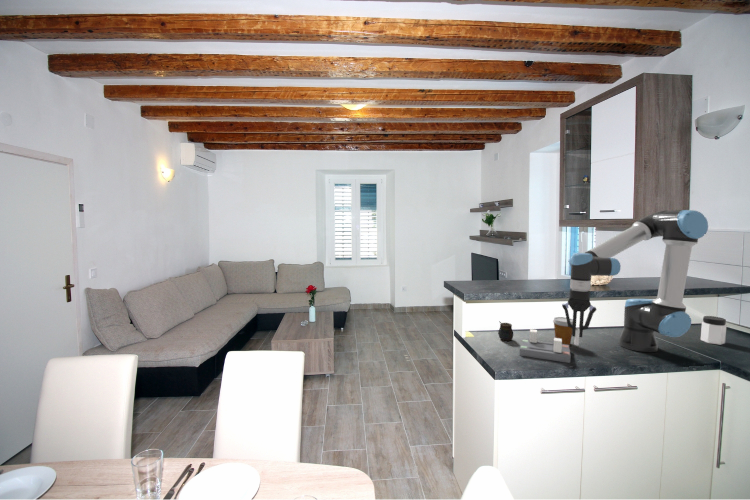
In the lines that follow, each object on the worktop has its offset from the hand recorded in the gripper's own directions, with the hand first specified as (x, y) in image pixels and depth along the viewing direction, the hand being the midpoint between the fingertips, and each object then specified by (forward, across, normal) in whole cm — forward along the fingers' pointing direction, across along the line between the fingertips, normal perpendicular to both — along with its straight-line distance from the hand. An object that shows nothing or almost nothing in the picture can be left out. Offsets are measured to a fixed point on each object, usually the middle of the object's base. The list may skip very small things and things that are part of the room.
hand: (576, 344), depth 155 cm
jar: (+7, +63, +57) cm, 85 cm away
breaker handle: (+4, -17, +9) cm, 20 cm away
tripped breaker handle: (+4, -7, 0) cm, 8 cm away
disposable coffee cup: (+8, -4, +23) cm, 24 cm away
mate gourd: (+8, -30, +17) cm, 35 cm away
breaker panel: (+8, -12, +5) cm, 15 cm away
